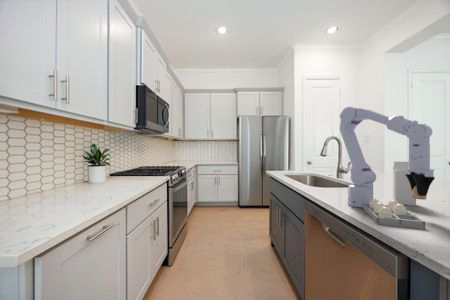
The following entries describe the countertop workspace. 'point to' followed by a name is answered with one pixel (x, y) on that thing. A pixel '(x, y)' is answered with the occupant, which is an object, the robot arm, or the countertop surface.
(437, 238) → the countertop surface
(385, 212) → the cream eggs
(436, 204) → the countertop surface
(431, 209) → the countertop surface
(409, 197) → the milk carton
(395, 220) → the egg carton
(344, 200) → the countertop surface
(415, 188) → the brown egg
